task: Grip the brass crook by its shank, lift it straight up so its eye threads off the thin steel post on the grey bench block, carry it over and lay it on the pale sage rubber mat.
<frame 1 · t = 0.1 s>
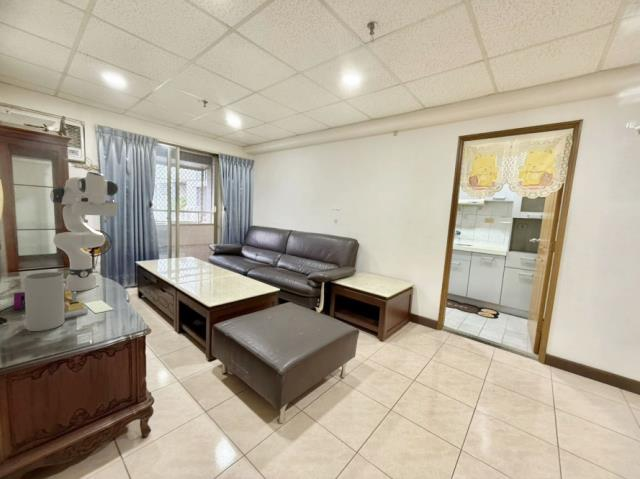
hand: (96, 222, 153), 48 cm above the table, fingers open, 8 cm apart
vise block: (71, 311, 140), on the table
cylinder vase: (46, 326, 122), on the table
sage mat: (98, 306, 148), on the table
brass hook: (74, 308, 137), point 3 cm above the table, touching vise block
mounting bracket: (30, 305, 144), on the table
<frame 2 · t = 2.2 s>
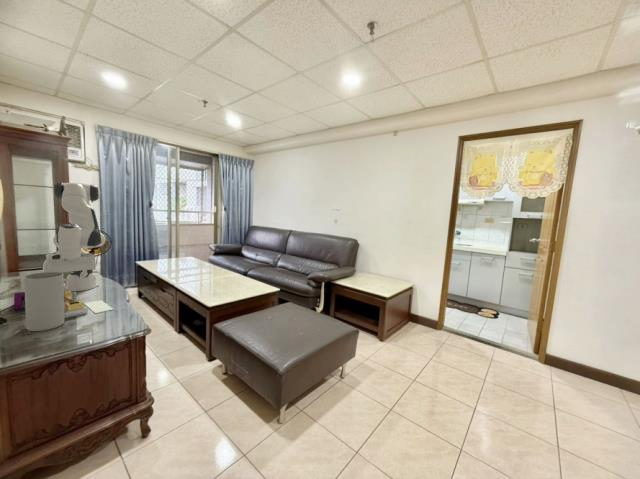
hand: (70, 279, 138), 18 cm above the table, fingers open, 8 cm apart
nothing on the table moved.
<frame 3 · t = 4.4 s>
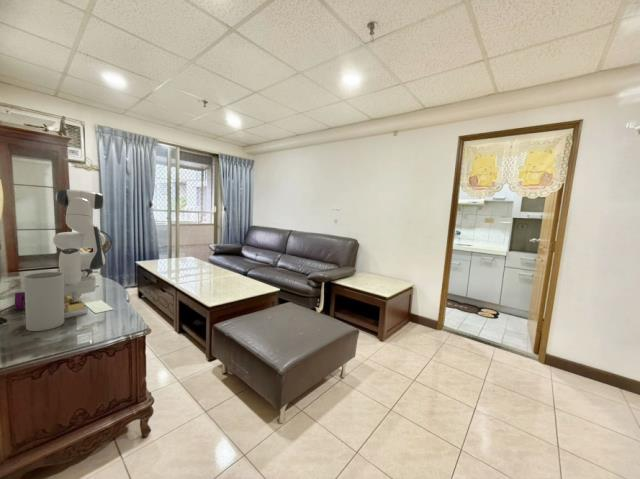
hand: (71, 303, 140), 4 cm above the table, fingers closed on brass hook, 3 cm apart
brass hook: (74, 308, 137), point 3 cm above the table, touching gripper, vise block
everything else where it was.
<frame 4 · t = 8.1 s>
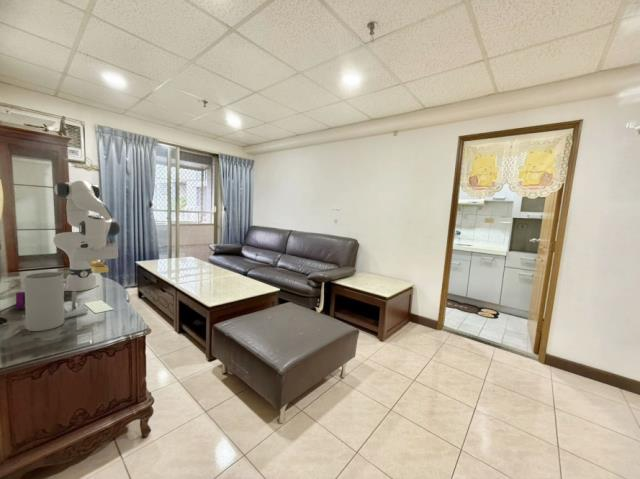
hand: (96, 267, 147), 23 cm above the table, fingers closed on brass hook, 3 cm apart
brass hook: (100, 271, 144), point 22 cm above the table, touching gripper
everything else where it was.
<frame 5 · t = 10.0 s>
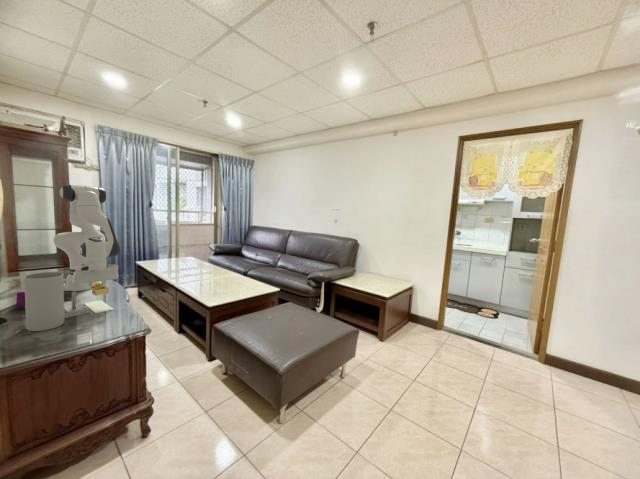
hand: (96, 288, 148), 10 cm above the table, fingers closed on brass hook, 3 cm apart
brass hook: (100, 293, 145), point 9 cm above the table, touching gripper
everything else where it was.
when the fingers open (3 cm above the table, at t = 11.8 s): brass hook drops 2 cm, resting on sage mat.
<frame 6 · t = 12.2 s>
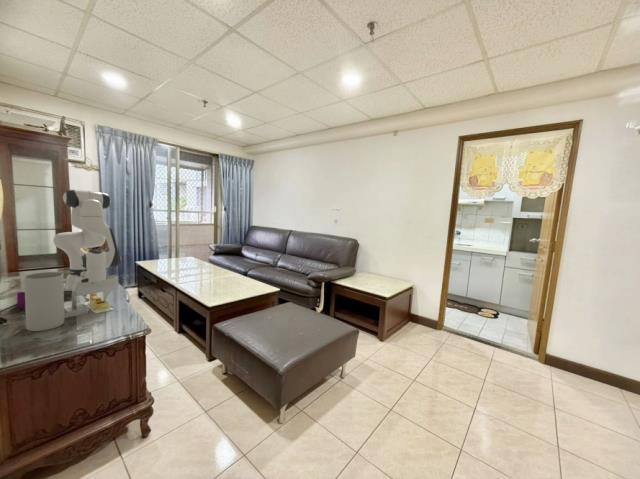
hand: (96, 299, 149), 3 cm above the table, fingers open, 7 cm apart
brass hook: (100, 307, 146), resting on sage mat
everything else where it was.
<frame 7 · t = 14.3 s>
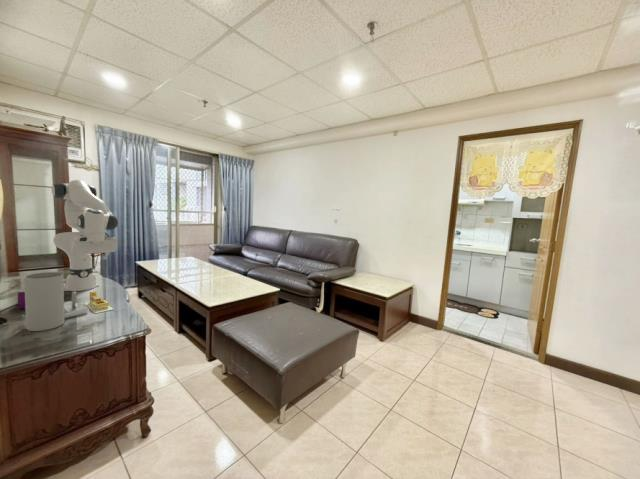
hand: (94, 260, 150), 26 cm above the table, fingers open, 8 cm apart
nothing on the table moved.
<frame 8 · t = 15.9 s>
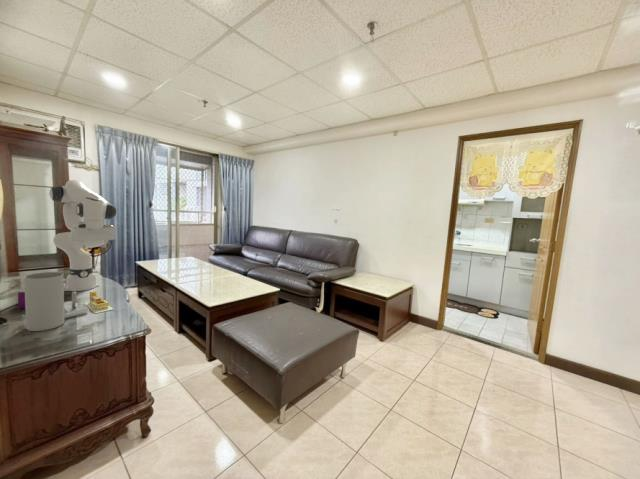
hand: (93, 247, 151), 33 cm above the table, fingers open, 8 cm apart
at the end: brass hook inside the target area (1.5 cm from its centre), resting on sage mat; brass hook touching sage mat; the gripper is holding nothing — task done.
